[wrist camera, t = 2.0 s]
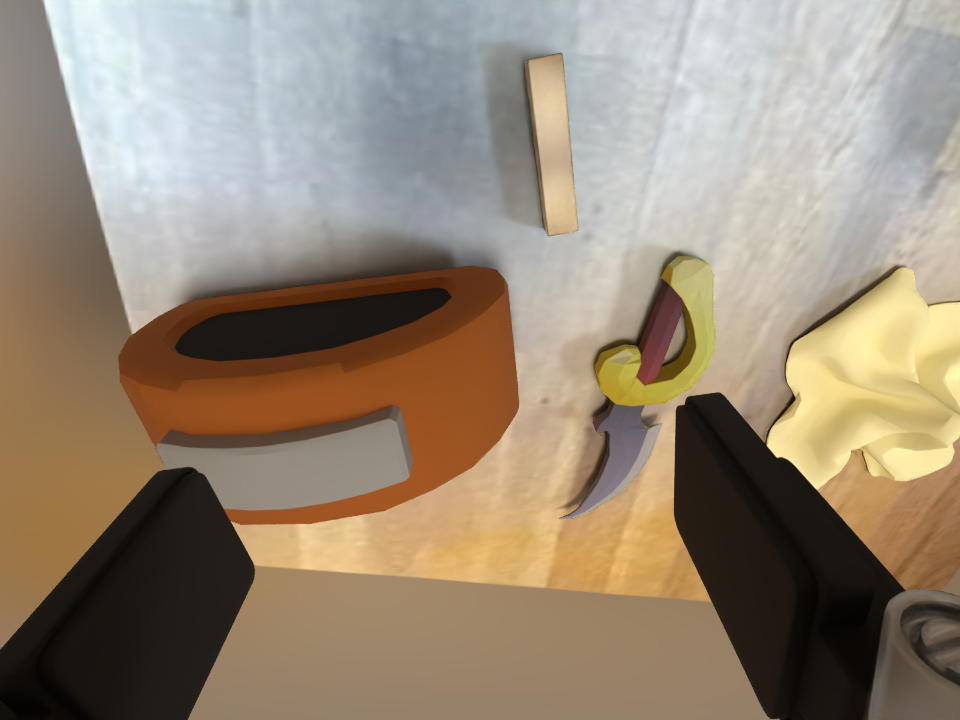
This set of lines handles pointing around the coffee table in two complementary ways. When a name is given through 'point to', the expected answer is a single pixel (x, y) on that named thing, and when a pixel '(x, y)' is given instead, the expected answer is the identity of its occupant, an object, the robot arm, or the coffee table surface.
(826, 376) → the cloth
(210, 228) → the coffee table surface
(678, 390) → the knife
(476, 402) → the orange oval container
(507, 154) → the coffee table surface
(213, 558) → the robot arm
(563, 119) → the wooden block
